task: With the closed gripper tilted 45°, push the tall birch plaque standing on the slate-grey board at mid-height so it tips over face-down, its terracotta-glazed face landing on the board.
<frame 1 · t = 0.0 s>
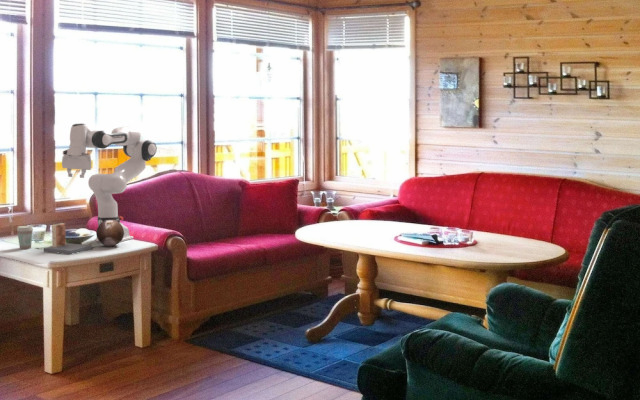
hand: (76, 177, 453), 39 cm above the table, tool pointing down, fingers open, 8 cm apart
board: (68, 250, 445), on the table
wooden sphere: (110, 246, 460), on the table
coffee cup: (25, 248, 450), on the table
plaque: (59, 245, 447), point 2 cm above the table, touching board
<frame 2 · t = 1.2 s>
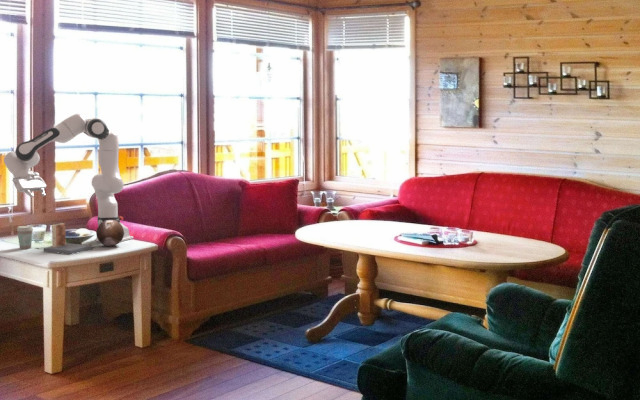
hand: (38, 196, 448), 29 cm above the table, tool tilted 45°, fingers open, 8 cm apart
nothing on the table moved.
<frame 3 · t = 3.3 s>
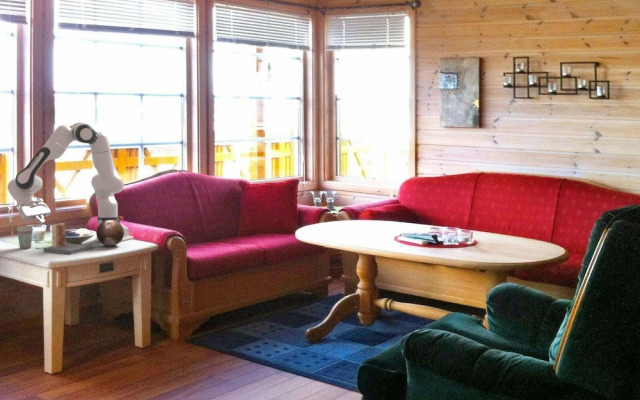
hand: (42, 222, 449), 14 cm above the table, tool tilted 45°, fingers closed
nothing on the table moved.
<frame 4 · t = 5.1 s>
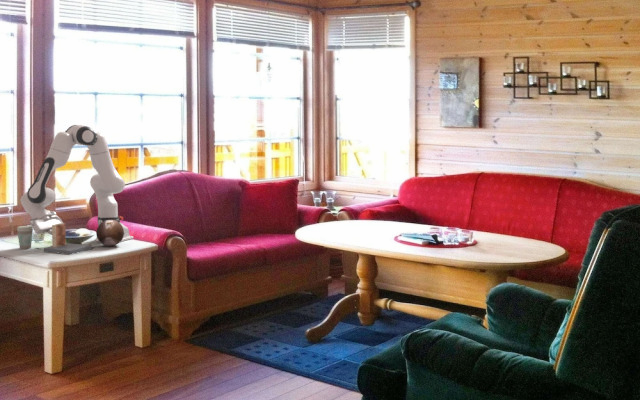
hand: (56, 236, 447), 7 cm above the table, tool tilted 45°, fingers closed, pressing on plaque
plaque: (59, 245, 447), point 2 cm above the table, touching board, gripper
everything else where it was.
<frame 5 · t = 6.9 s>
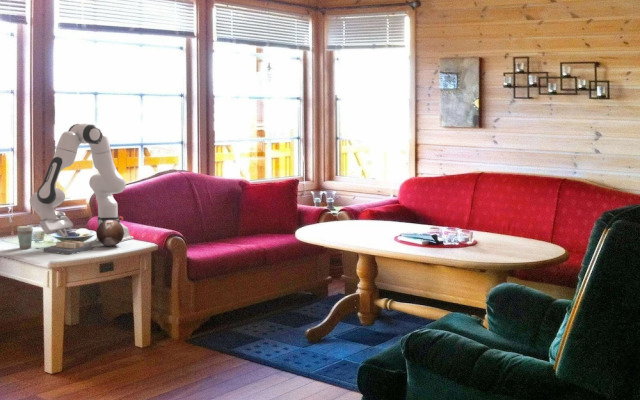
hand: (65, 236, 445), 7 cm above the table, tool tilted 45°, fingers closed
plaque: (61, 243, 446), point 3 cm above the table, tilted 90°, touching board
everything else where it was.
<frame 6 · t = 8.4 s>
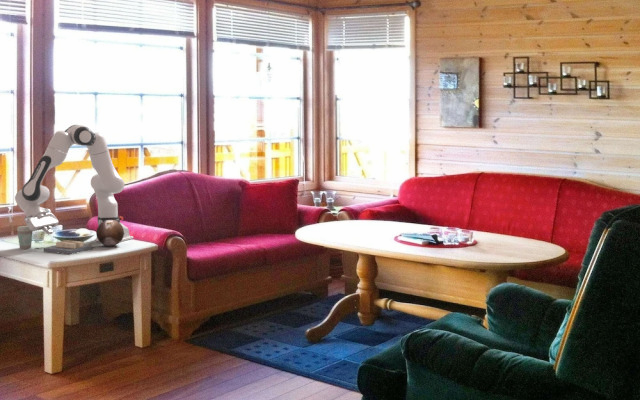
hand: (51, 233, 448), 8 cm above the table, tool tilted 45°, fingers closed
nothing on the table moved.
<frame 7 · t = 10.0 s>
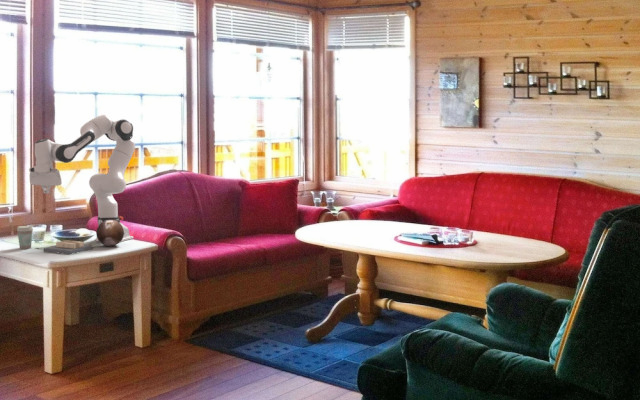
hand: (46, 193, 454), 30 cm above the table, tool pointing down, fingers closed
nothing on the table moved.
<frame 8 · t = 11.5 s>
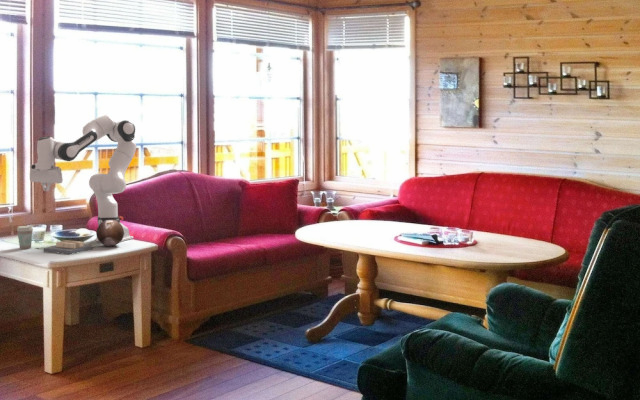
hand: (46, 190, 454), 31 cm above the table, tool pointing down, fingers closed
nothing on the table moved.
at the end: plaque tilted 90°; plaque inside the target area (0.3 cm from its centre), point 3.5 cm above the table; plaque touching board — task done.
